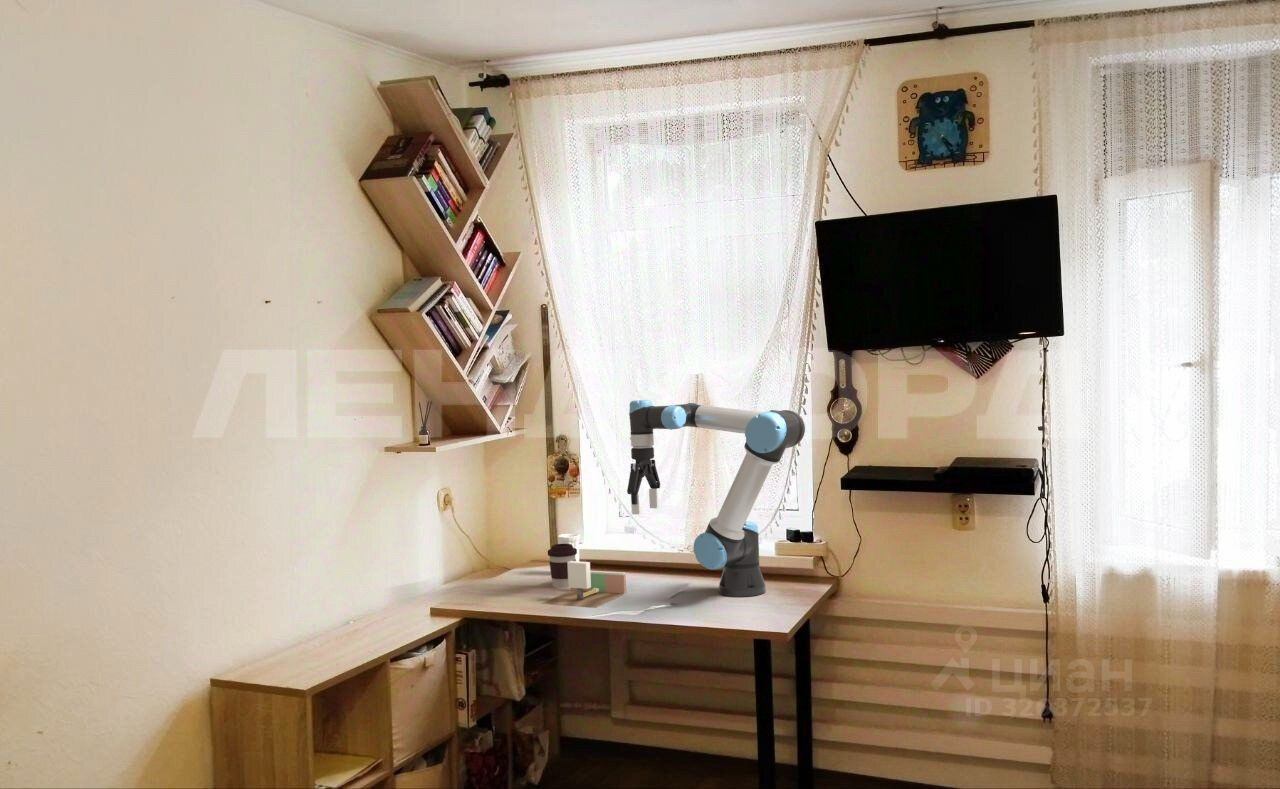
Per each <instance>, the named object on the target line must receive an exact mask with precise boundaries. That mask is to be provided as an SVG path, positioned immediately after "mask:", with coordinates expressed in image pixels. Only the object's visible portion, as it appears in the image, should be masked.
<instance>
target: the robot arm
mask: <svg viewBox="0 0 1280 789" xmlns="http://www.w3.org/2000/svg"><path fill="white" fill-rule="evenodd" d="M628 414H629V425H630V436H629V439H630V446H631V447H632V448H631V449H630V454H631V455H630V456H631V459H632V460H635V463H633V462H632V463H630V472H629V479H628V485H627V489H626V492H627V495H630V500H631V501H630V502H631V503H630V504H631V505H630V506H631V515H641V499H640V498H641V497H640V493H639V491H640V487H641V484H642V482H643V478H645V479H646V482H647V483H648V485H649V489H648V496H649V497H648V498H649V509H658V508H659V504H658V503H659V499H658V489H661V481H660V477H659V474H658V470H657V466H656V460H655V459H654V458H655V448H654V444H655V443H654V442H655V441H654V430H679V429H681V428H684V427H689V428H690V427H691V428H697V429H698V428H699V429H707V430H713V431H714V430H715V431H722V432H728V433H737V434H743V435H744V437H745V444H743V445H744V446H743V447H744V449H745V452H746V453H745V456H744V458H742V459H743V460H742V462H741V464H740V466H739V468H738V471H737V473H736V475H735V476H734V479H733V481H732V484H731V486H730V488H729V490H728V493H727V494H726V497H725V499H724V501H723V504H722V506H721V508H720V509H719V512H718V514H717V517H713V518H711V519H710V520H709V522H708V524H707V526H706V528H705V531H704V532H701V533H700V534H699V535H697V536H696V537H695V539H694V542H693V545H692V546H693V553H694V555H695V559H696V561H697V562H698V563H699V564H700V565H701V566H702V567H703V568H705V569H707V570H719V569H722V568H723V569H722V573H721V577H720V581H719V583H718V584H719V585H718V593H719V594H721V595H722V596H727V597H737V598H738V597H755V596H758V595H759V596H760V595H763V594H764V593H766V591H767V588H766V586H767V584H766V582H765V580H764V576H763V573H762V571H761V570H762V569H761V568H760V567H761V566H760V542H759V535H760V533H759V527H758V524H757V523H756V522H754V521H747V520H748V518H749V515H750V514H751V511H752V509H753V508H754V505H755V503H756V500H757V498H758V496H759V494H760V492H761V489H762V488H763V486H764V483H765V481H766V479H767V477H768V475H769V473H770V470H771V468H772V467H773V465H774V464H778V463H779V462H780V461H781V459H782V457H783V454H784V453H785V450H786V449H789V448H793V447H795V446H797V445H799V444H800V442H801V441H802V440H803V438H804V436H805V433H806V426H805V421H804V420H803V418H802V417H801V416H800V414H799V413H798V412H795V411H793V410H788V409H782V410H775V409H770V410H768V411H763V412H762V411H757V410H756V411H755V410H754V411H753V410H746V409H739V408H738V409H737V408H728V407H720V406H712V405H705V404H704V405H701V403H697V402H688V403H683V404H672V405H653V402H652V400H650V399H639V400H631V401H630V403H629V412H628Z"/></svg>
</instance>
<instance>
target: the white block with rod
mask: <svg viewBox="0 0 1280 789" xmlns="http://www.w3.org/2000/svg"><path fill="white" fill-rule="evenodd" d="M567 565H568V588H570V589H571V588H577V600H579V601H580V600H583V597H586V596H588V595H591V594H593V593H597V592H599V588H594V589H593V590H591V591H588V592H586V593H583V589H588V588H591V575H590V571H591V562H590V561H580V560H579V561H570V562H567Z"/></svg>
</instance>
